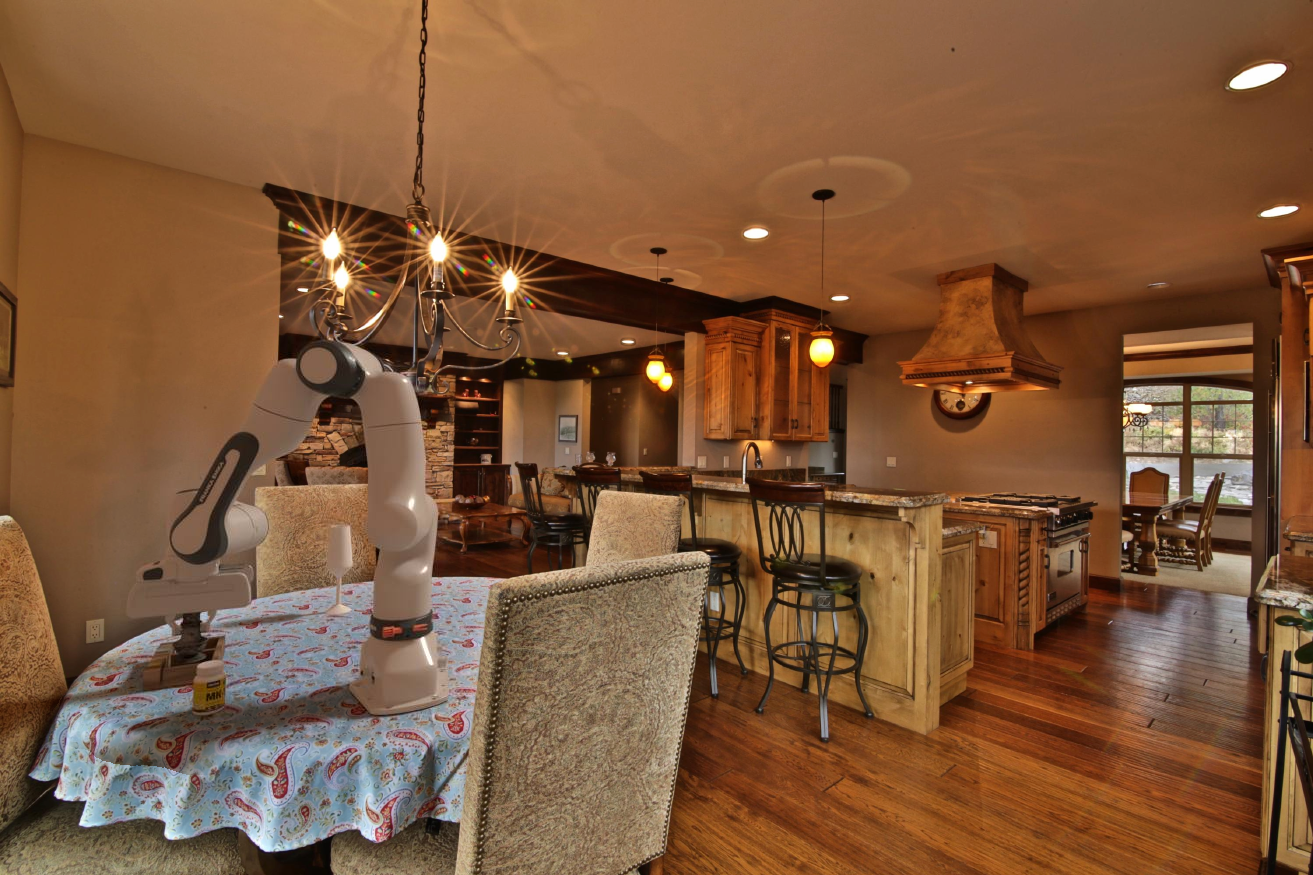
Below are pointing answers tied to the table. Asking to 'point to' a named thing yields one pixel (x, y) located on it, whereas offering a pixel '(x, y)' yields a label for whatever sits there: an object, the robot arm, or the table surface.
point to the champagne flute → (339, 561)
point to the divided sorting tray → (178, 665)
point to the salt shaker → (190, 640)
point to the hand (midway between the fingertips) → (191, 633)
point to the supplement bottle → (209, 688)
